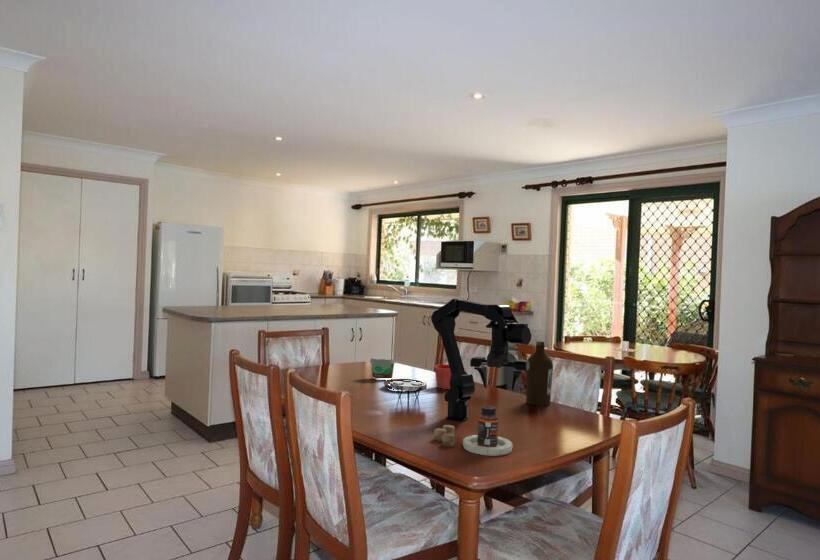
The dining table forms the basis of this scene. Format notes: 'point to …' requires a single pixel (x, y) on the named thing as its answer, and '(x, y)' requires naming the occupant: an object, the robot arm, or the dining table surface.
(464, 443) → the round tray
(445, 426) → the wooden bead
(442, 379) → the flower pot
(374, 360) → the food container
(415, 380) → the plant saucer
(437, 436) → the wooden bead
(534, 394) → the olive oil
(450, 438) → the wooden bead
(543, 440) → the dining table surface
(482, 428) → the supplement bottle
